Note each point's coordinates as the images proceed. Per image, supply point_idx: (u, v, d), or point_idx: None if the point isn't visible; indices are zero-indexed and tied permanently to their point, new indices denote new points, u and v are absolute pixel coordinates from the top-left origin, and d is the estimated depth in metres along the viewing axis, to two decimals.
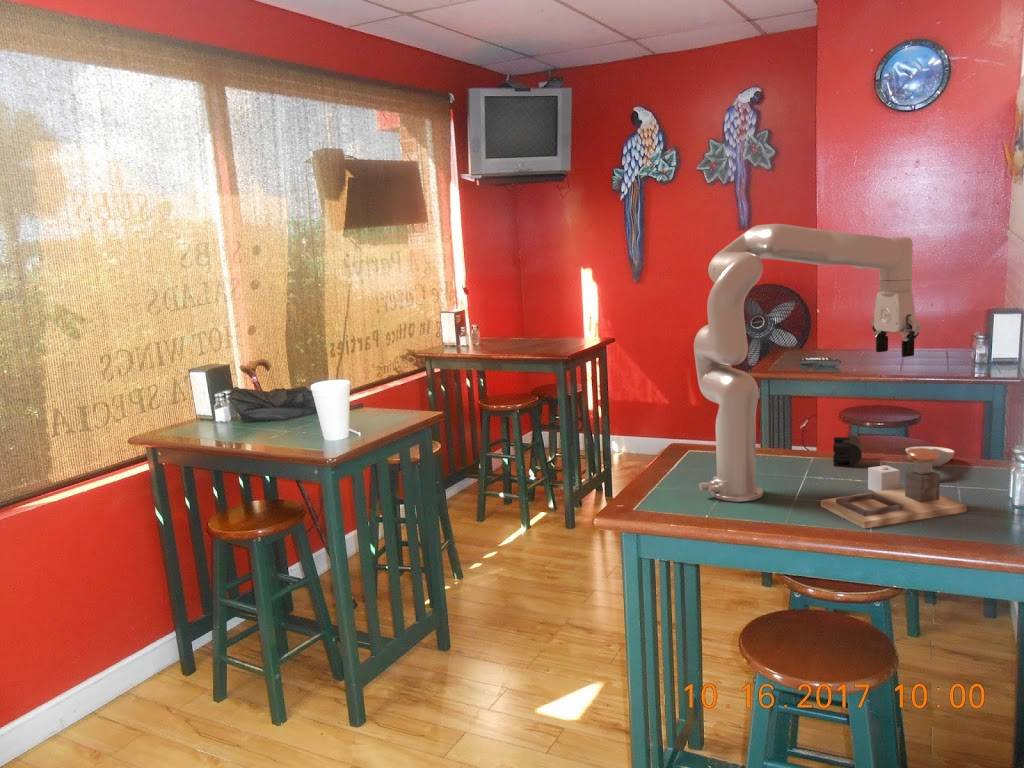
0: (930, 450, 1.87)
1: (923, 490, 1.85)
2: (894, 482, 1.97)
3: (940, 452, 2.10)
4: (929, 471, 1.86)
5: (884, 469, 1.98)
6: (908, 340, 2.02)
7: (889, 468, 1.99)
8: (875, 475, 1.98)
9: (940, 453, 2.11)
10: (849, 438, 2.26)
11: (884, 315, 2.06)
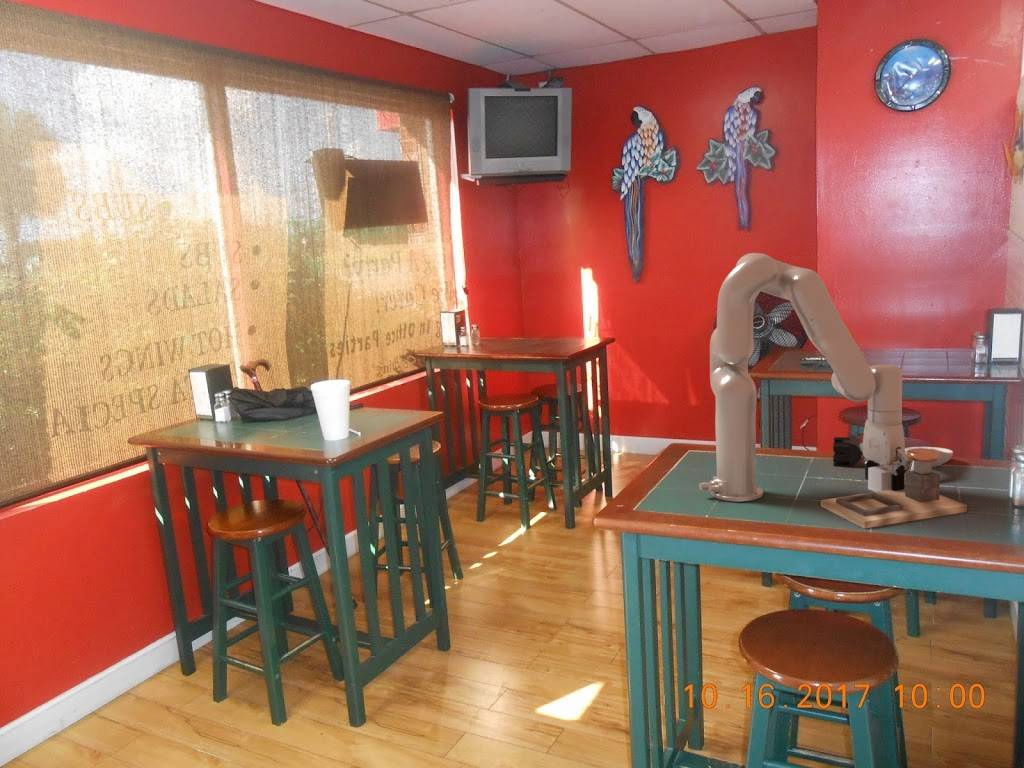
0: (930, 450, 1.87)
1: (923, 490, 1.85)
2: None
3: None
4: (929, 471, 1.86)
5: (884, 469, 1.98)
6: (898, 474, 1.93)
7: (889, 468, 1.99)
8: (875, 475, 1.98)
9: None
10: (849, 438, 2.26)
11: (873, 445, 1.97)
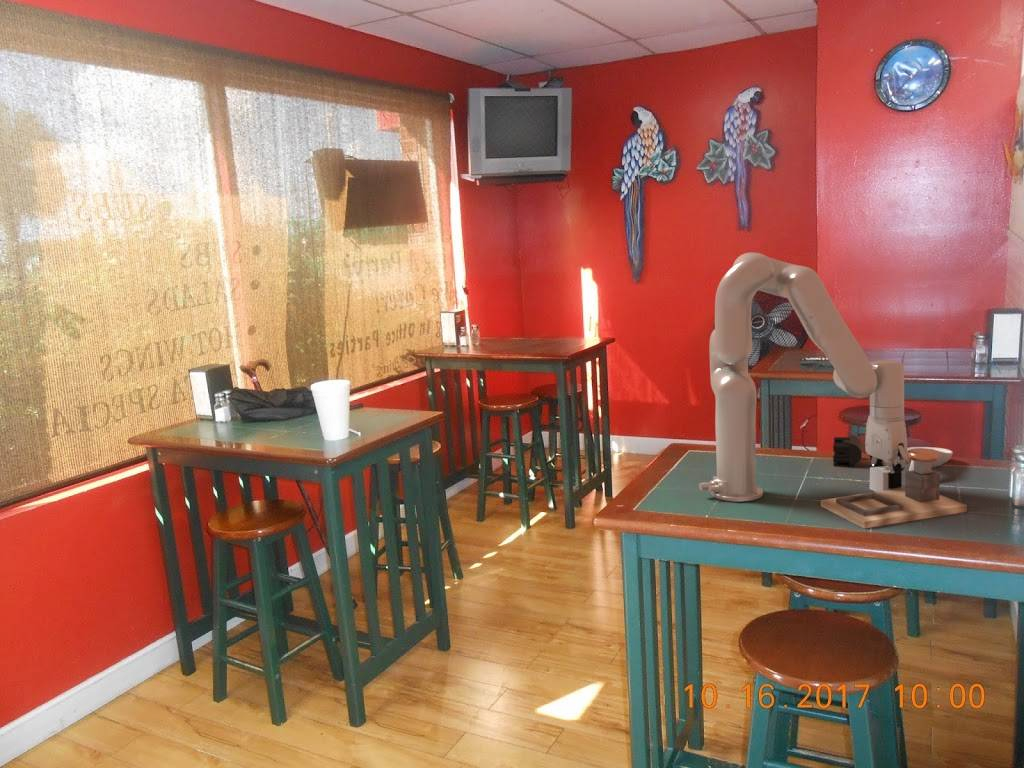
0: (930, 450, 1.87)
1: (923, 490, 1.85)
2: None
3: None
4: (929, 471, 1.86)
5: (886, 469, 1.97)
6: (894, 473, 1.94)
7: None
8: (876, 475, 1.98)
9: None
10: (849, 438, 2.26)
11: (876, 441, 1.96)
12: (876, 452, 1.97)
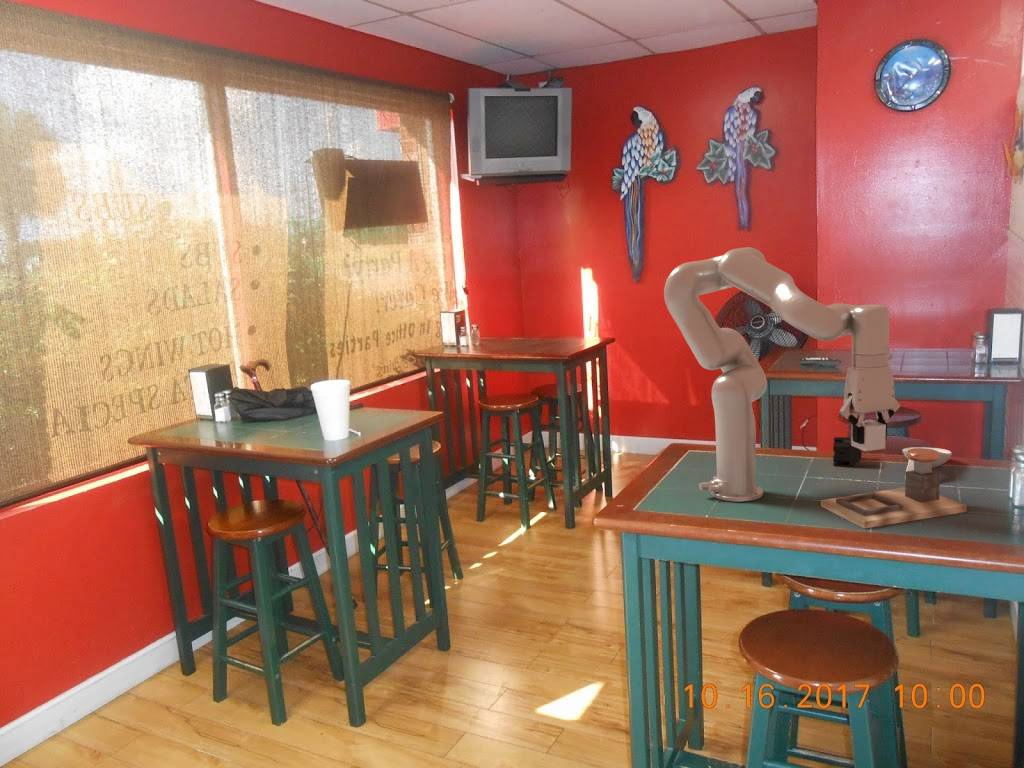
0: (930, 450, 1.87)
1: (923, 490, 1.85)
2: None
3: None
4: (929, 471, 1.86)
5: (864, 422, 1.82)
6: (852, 424, 1.81)
7: (871, 424, 1.81)
8: None
9: None
10: (849, 438, 2.26)
11: None
12: None
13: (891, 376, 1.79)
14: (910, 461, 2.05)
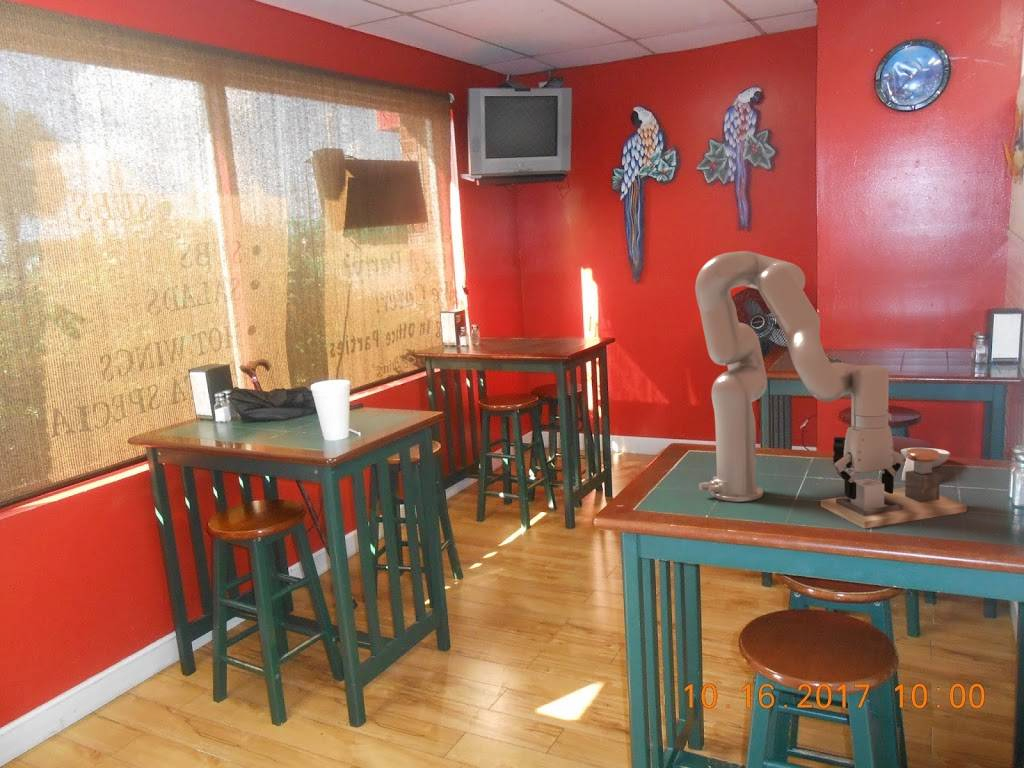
0: (930, 450, 1.87)
1: (923, 490, 1.85)
2: (860, 497, 1.84)
3: None
4: (929, 471, 1.86)
5: (863, 481, 1.85)
6: (844, 479, 1.83)
7: (870, 484, 1.83)
8: None
9: None
10: None
11: None
12: None
13: (890, 436, 1.81)
14: (907, 461, 2.05)
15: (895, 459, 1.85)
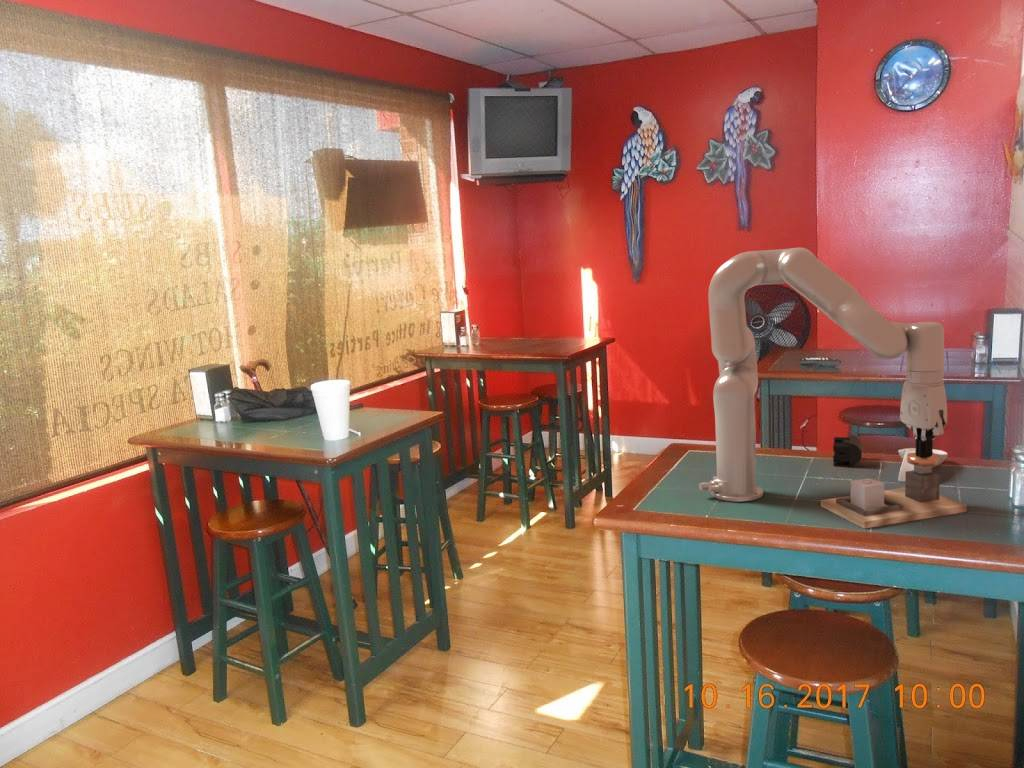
0: None
1: (923, 490, 1.85)
2: (860, 497, 1.84)
3: None
4: None
5: (863, 481, 1.85)
6: None
7: (870, 484, 1.83)
8: None
9: None
10: (849, 438, 2.26)
11: (912, 408, 1.84)
12: (913, 420, 1.84)
13: None
14: (904, 462, 2.05)
15: None
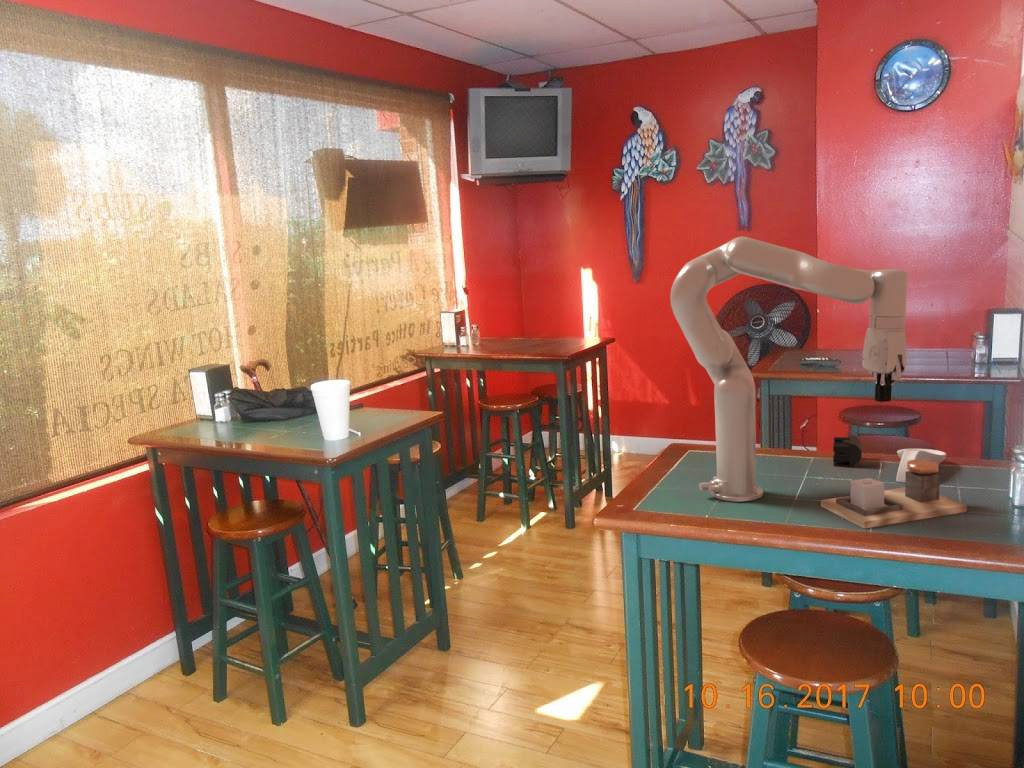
0: (930, 461, 1.87)
1: (923, 490, 1.85)
2: (860, 497, 1.84)
3: (928, 454, 2.09)
4: None
5: (863, 481, 1.85)
6: None
7: (870, 484, 1.83)
8: None
9: (928, 455, 2.09)
10: (849, 438, 2.26)
11: (873, 353, 1.88)
12: (873, 365, 1.89)
13: None
14: (902, 462, 2.05)
15: None
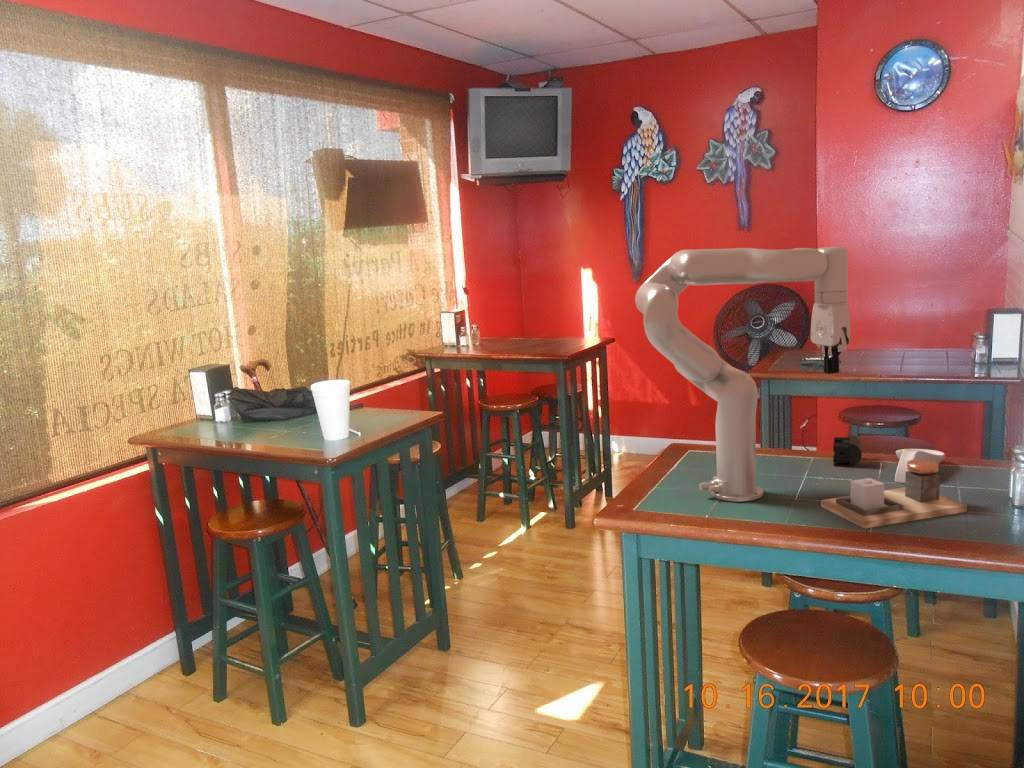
0: (930, 461, 1.87)
1: (923, 490, 1.85)
2: (860, 497, 1.84)
3: (927, 455, 2.09)
4: None
5: (863, 481, 1.85)
6: (831, 357, 1.98)
7: (870, 484, 1.83)
8: None
9: (927, 456, 2.09)
10: (849, 438, 2.26)
11: (820, 328, 1.98)
12: (820, 339, 1.98)
13: None
14: (900, 462, 2.04)
15: None
